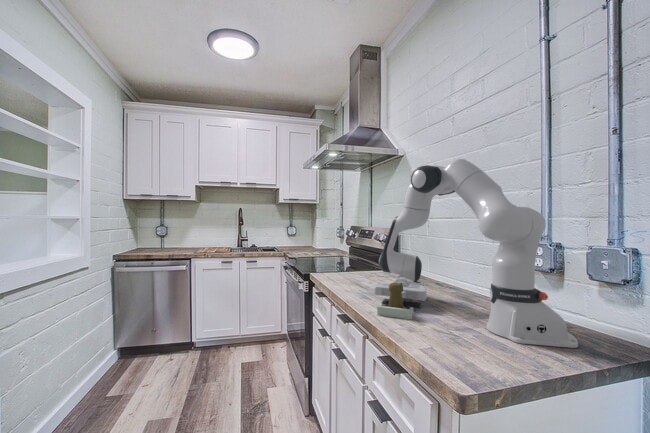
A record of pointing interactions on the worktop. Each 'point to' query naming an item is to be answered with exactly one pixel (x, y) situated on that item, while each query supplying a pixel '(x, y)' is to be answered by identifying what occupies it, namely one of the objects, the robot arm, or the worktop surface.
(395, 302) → the cork
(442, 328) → the worktop surface
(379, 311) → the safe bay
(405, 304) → the trap squares
